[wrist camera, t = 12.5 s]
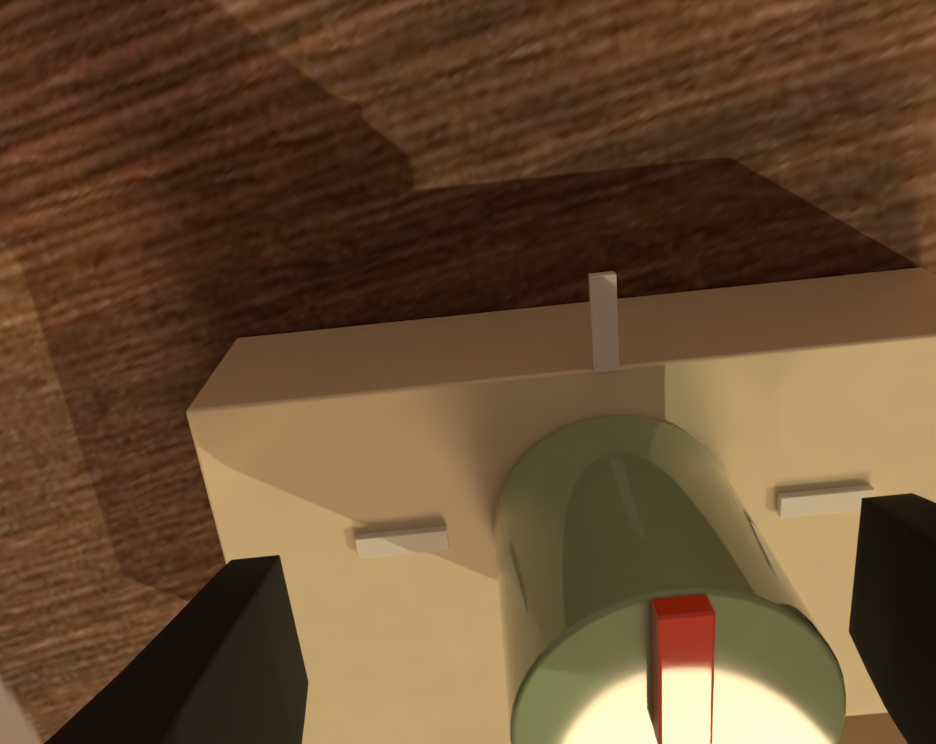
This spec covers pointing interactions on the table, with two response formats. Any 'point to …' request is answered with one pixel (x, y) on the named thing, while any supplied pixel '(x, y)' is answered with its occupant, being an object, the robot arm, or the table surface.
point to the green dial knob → (650, 601)
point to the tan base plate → (516, 432)
